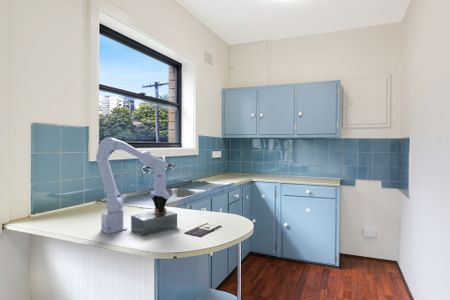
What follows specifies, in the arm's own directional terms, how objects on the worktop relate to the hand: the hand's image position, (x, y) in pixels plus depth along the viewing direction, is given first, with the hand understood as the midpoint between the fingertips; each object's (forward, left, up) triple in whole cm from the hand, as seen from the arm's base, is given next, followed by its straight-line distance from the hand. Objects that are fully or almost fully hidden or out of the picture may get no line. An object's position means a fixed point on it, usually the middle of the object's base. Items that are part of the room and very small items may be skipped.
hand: (159, 211), depth 138 cm
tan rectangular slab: (0, 0, -3) cm, 4 cm away
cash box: (-3, 0, -8) cm, 8 cm away
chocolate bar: (+13, -18, -9) cm, 24 cm away
